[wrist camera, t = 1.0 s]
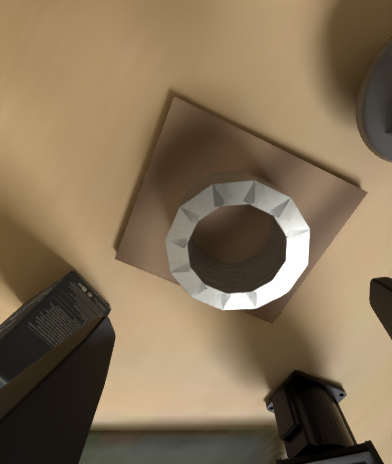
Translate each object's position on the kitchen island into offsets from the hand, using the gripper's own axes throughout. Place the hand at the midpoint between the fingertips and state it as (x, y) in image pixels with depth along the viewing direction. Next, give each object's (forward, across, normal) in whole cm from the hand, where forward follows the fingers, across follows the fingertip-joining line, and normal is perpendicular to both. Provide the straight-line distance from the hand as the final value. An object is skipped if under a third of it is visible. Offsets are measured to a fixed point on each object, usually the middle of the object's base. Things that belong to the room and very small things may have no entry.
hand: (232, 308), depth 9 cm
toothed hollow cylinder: (+12, -1, +2) cm, 12 cm away
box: (+13, +17, +8) cm, 23 cm away
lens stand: (+13, -1, +2) cm, 13 cm away
